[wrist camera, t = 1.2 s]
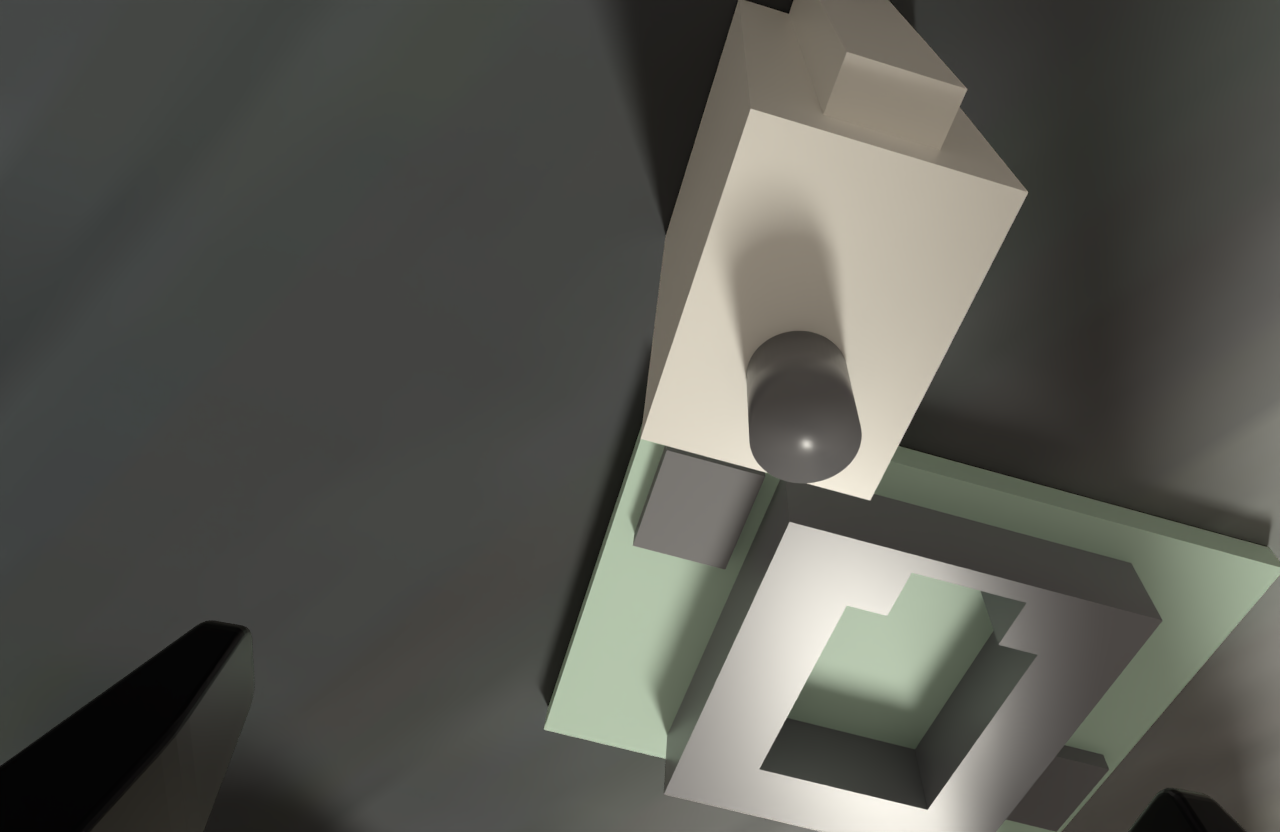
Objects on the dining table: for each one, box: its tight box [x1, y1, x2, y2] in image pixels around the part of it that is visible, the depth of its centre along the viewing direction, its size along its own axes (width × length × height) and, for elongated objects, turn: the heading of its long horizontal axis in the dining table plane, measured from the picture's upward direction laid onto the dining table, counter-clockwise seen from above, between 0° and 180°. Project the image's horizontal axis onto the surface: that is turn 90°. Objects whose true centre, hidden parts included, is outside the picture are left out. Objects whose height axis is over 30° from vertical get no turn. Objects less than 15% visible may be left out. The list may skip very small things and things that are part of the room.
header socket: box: [664, 479, 1163, 832], centre depth 25 cm, size 9×10×2 cm
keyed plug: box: [641, 0, 1028, 500], centre depth 16 cm, size 4×6×10 cm, turn 165°
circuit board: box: [544, 426, 1280, 832], centre depth 26 cm, size 16×12×1 cm
